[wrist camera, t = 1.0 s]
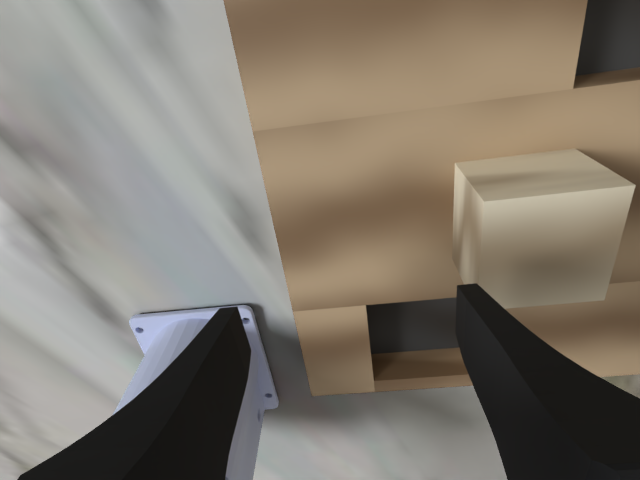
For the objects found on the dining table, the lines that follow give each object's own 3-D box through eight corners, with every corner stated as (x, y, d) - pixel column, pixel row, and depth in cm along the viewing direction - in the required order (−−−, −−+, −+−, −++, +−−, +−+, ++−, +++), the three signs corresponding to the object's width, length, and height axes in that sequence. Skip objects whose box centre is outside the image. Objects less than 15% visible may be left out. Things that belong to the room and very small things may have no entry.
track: (793, 330, 25) (873, 387, 21) (313, 365, 28) (310, 421, 24) (1125, -226, 13) (1440, -317, 9) (224, -63, 16) (191, -83, 12)
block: (556, 248, 20) (604, 300, 16) (451, 258, 20) (476, 311, 17) (575, 148, 17) (635, 185, 14) (454, 162, 18) (484, 201, 14)
